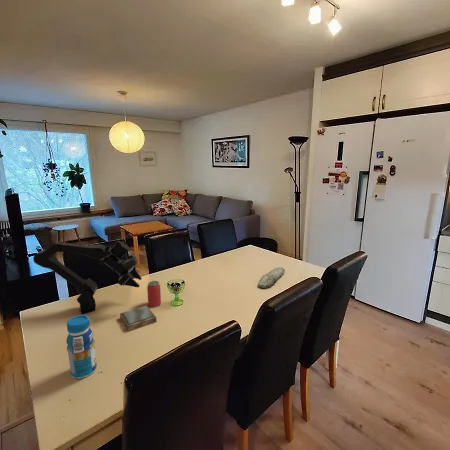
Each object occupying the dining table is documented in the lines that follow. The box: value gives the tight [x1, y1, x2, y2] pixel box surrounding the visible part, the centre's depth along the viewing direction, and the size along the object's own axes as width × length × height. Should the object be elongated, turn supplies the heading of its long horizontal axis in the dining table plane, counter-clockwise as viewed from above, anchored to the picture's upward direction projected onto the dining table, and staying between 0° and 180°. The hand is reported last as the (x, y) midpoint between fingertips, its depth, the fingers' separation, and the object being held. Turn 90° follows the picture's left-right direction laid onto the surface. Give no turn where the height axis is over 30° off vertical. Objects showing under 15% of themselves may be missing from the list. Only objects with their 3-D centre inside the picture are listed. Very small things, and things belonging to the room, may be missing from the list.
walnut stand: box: [119, 305, 157, 332], centre depth 126 cm, size 13×13×3 cm
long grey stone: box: [257, 266, 286, 289], centre depth 173 cm, size 35×5×10 cm
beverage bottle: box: [65, 314, 97, 379], centre depth 92 cm, size 8×8×20 cm
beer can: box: [146, 280, 162, 308], centre depth 139 cm, size 7×7×12 cm
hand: (140, 282), depth 137 cm, fingers open, 9 cm apart
